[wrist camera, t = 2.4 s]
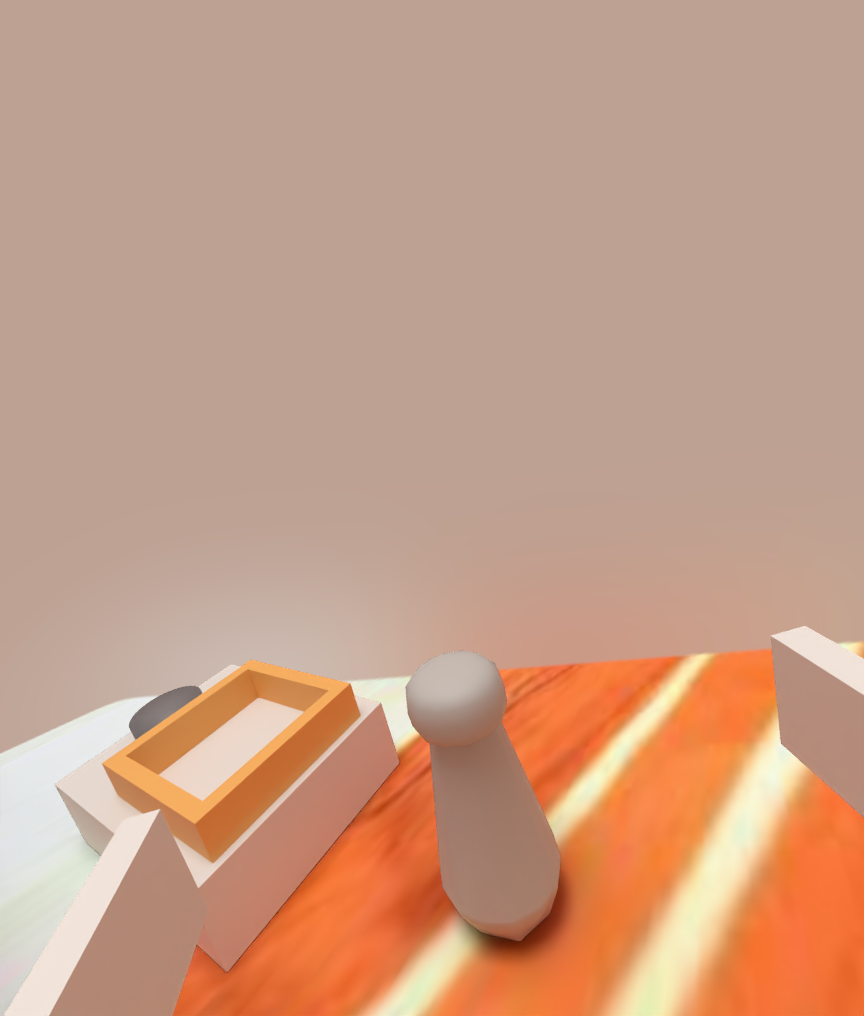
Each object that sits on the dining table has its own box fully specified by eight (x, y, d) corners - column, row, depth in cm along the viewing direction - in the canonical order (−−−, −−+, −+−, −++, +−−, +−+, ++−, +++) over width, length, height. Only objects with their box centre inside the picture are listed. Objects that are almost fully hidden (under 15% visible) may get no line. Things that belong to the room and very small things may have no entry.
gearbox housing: (69, 826, 37) (24, 743, 35) (231, 704, 48) (203, 635, 46) (227, 972, 24) (170, 855, 23) (399, 762, 35) (370, 670, 33)
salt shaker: (429, 927, 24) (354, 700, 21) (483, 827, 29) (429, 627, 25) (543, 989, 21) (475, 729, 17) (585, 865, 25) (536, 640, 22)
